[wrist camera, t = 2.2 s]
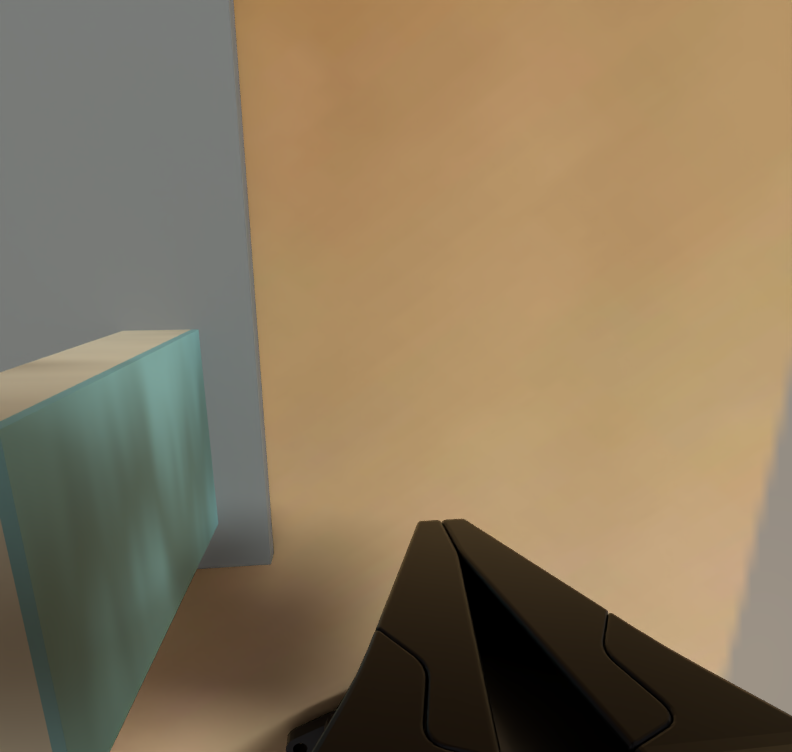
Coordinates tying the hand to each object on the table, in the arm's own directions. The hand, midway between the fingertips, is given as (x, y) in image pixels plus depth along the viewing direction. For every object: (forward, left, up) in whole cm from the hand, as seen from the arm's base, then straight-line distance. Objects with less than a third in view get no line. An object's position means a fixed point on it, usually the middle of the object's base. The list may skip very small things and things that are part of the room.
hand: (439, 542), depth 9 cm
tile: (+3, +6, -6) cm, 9 cm away
